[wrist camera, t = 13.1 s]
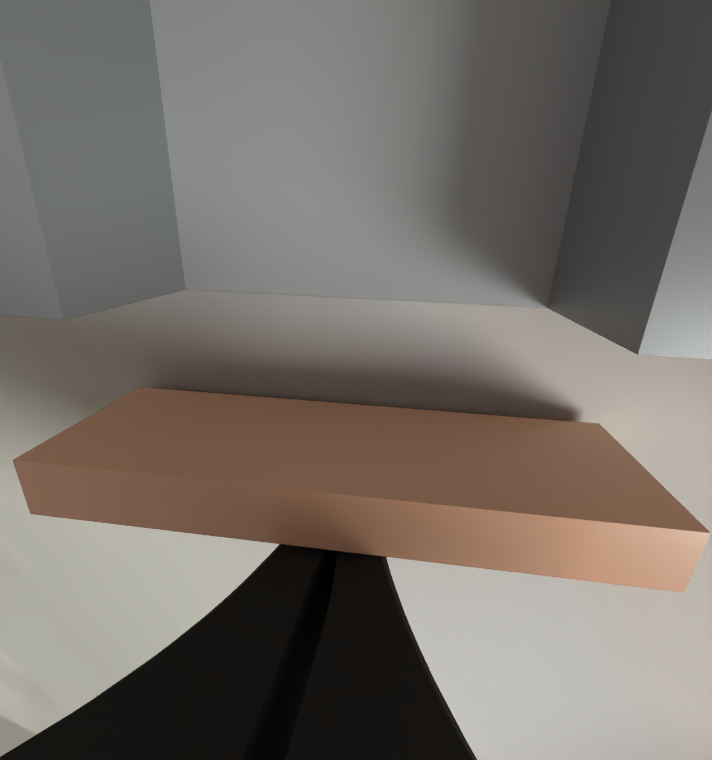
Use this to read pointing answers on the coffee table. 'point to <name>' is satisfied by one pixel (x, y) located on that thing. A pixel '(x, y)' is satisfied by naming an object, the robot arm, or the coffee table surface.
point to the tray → (363, 156)
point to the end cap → (371, 484)
